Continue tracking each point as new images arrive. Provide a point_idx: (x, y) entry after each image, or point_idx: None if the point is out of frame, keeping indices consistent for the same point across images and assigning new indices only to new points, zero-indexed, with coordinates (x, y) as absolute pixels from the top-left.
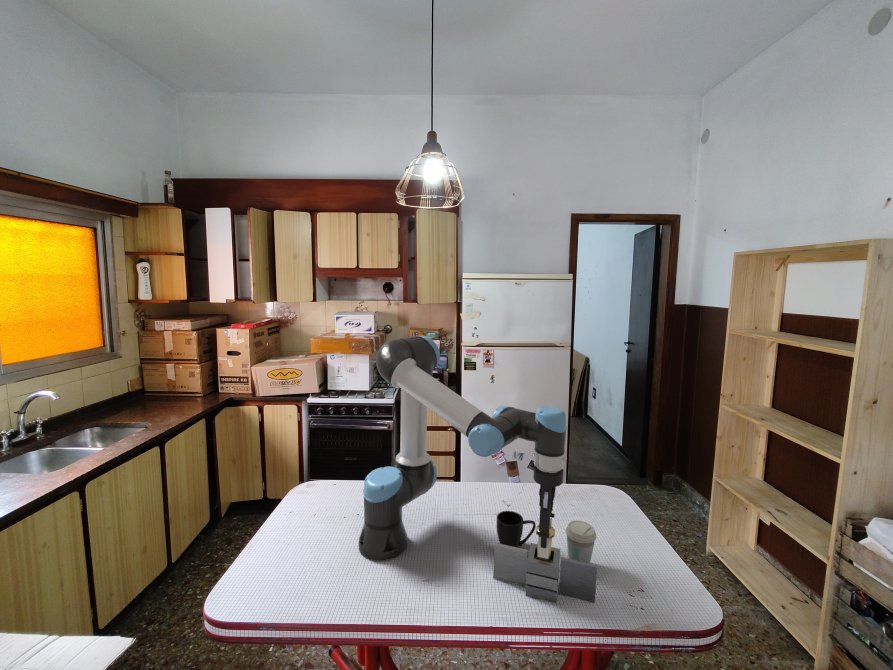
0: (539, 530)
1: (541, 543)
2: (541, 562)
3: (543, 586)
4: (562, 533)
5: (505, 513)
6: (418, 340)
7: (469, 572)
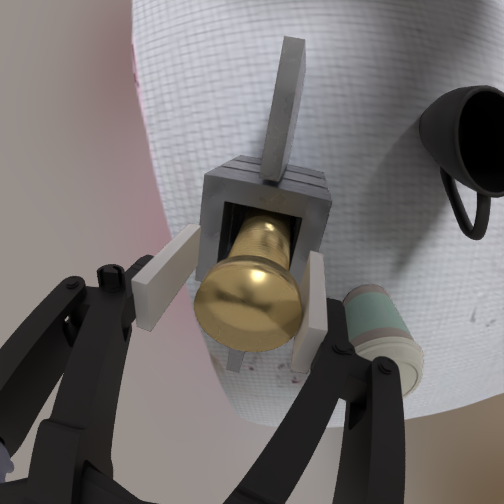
0: (46, 300)
1: (132, 268)
2: (209, 228)
3: None
4: (473, 290)
5: None
6: None
7: (303, 8)
